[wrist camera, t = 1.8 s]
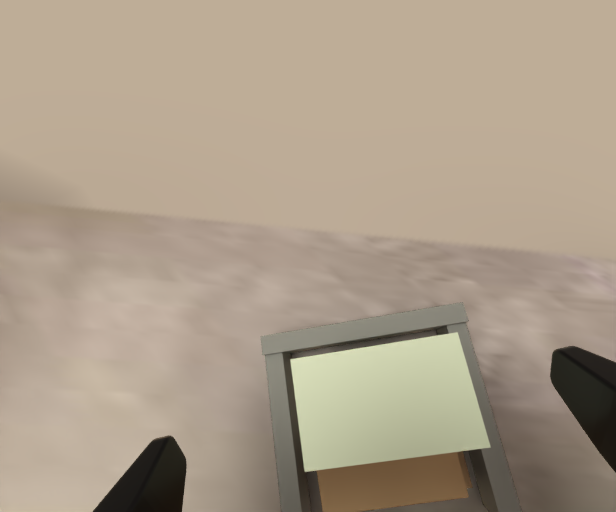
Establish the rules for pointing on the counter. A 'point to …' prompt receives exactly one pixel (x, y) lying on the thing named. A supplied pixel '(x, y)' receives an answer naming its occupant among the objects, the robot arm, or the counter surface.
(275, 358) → the frame
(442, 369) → the sage board
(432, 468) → the walnut offcuts
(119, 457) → the counter surface
